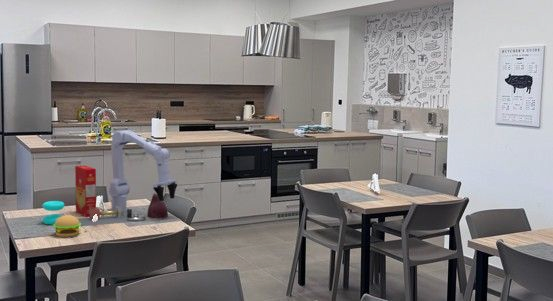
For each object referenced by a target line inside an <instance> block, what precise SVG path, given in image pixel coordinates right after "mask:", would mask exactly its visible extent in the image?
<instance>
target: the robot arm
mask: <svg viewBox="0 0 553 301" xmlns="http://www.w3.org/2000/svg"><path fill="white" fill-rule="evenodd" d="M111 140H112V141H111V144H110V146H111V147H110V148H111V149H110V150H111V161H112V163H111V164H112V173H113V174H112V177H113V178H112V180H111V181H110V183H109V189H108V192H109V195H110V196H111V204H110V206H111V208H110V211H116V206H117V205H119V206H121V207H122V212H123V214H124V213H127V209H128V208H127V199H128V198H127V197H128V194H129V193H130V190H131V189H130V186H129V182H128V180H127V178H125V168H124V157H123V155H124V153H123V148H124V147H125V146H126V145H127V144H129V143H131V142H132V143H134V144H135V145H138V146H139V147H142V148H143V151H144V152H146V153H147V154H148V155H150V156H152V157H153V159H154V160H155V163H156V166H157V174H158V176H157V177H158V181H157V182H153V184H152V185H153V188H152V189H153V191H154V192H155V194H157V195H158V198H159V200H160V201H163V202H164V190H165V187H164V186H166V188H167V189H168V192H169V193H168V194H169V198H170V199H175V194H176V190H177V187H178V182H177V179H175V178H174V179H171V173H170V164H169V159H170V156H171V153H170V150H168V148H166V147H164V148H162V146H160V145H157V144H156V143H155V141H147V140H145V139H144V138H142V137H141V136H139V135H138V134H136V132H135V131H132V130H130V129H126V130H116V131H115V132H114V133H112V135H111Z"/></svg>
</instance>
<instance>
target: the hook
mask: <svg viewBox="0 0 553 301" xmlns="http://www.w3.org/2000/svg"><path fill="white" fill-rule="evenodd" d="M95 214H97V216H98V220H99V219H100V217H101V216H112V215H116V214H118V210H117V211H112V210H105V211H103V210H102V211H100V207H99V206H96V207H90V217H89V218H90V219H91V220H92V219H93V216H94V215H95ZM123 215H124V213H123V212H122V216H123Z"/></svg>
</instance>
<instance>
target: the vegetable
mask: <svg viewBox="0 0 553 301" xmlns="http://www.w3.org/2000/svg"><path fill="white" fill-rule="evenodd" d="M146 215H147V218H149V219H166V218H168V216H169V213H168V208H167V206H166V204H165V203H164V200H163V201H160V200H159V198H158V195H157V193H156V192H155V193H154V192H153V194H152V197H151V200H150V202H149V205H148V208H147V214H146Z"/></svg>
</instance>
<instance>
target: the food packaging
mask: <svg viewBox="0 0 553 301" xmlns="http://www.w3.org/2000/svg"><path fill="white" fill-rule="evenodd" d="M74 167H75V168H74V169H75V173H74V174H75V212H76V213H77V214H79V215H80V216H83V218H90V207H97V169H96V168H94V167H91V166H88V165H75V166H74Z"/></svg>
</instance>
